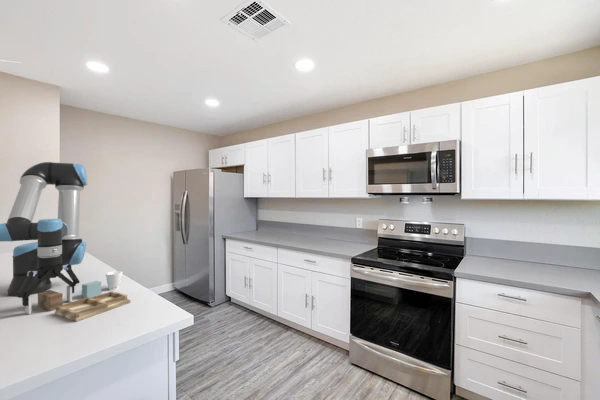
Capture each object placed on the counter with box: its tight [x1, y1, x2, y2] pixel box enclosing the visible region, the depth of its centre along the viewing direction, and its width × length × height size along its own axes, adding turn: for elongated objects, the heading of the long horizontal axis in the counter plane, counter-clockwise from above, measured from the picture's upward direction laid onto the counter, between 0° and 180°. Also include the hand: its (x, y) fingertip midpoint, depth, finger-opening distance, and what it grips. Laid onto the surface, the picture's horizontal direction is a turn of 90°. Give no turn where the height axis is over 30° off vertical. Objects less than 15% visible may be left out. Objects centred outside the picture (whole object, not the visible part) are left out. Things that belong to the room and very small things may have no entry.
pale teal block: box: [81, 280, 102, 299], centre depth 125 cm, size 4×6×6 cm, turn 156°
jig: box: [54, 290, 131, 323], centre depth 111 cm, size 15×20×3 cm
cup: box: [105, 270, 123, 291], centre depth 136 cm, size 7×10×8 cm
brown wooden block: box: [37, 289, 63, 312], centre depth 112 cm, size 10×4×6 cm, turn 66°
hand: (50, 307), depth 111 cm, fingers open, 13 cm apart
